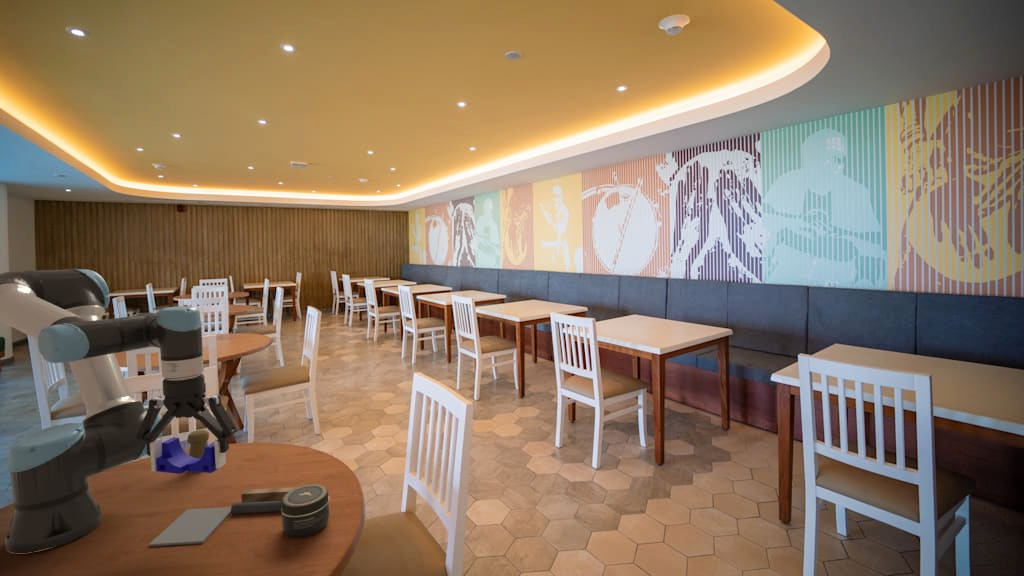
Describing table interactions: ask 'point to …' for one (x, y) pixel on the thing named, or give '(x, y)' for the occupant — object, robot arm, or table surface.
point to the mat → (192, 526)
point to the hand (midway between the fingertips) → (189, 467)
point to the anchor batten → (264, 494)
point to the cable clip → (184, 459)
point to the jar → (305, 510)
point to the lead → (256, 507)
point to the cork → (197, 443)
